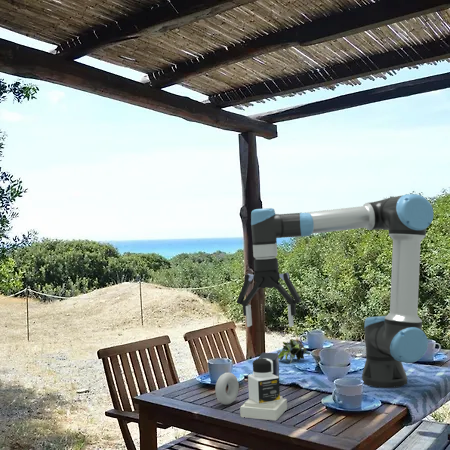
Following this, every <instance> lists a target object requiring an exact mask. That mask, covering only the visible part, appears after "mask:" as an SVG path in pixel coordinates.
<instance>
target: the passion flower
mask: <svg viewBox="0 0 450 450" xmlns="http://www.w3.org/2000/svg"><path fill="white" fill-rule="evenodd" d="M282 344H283V345H282V347H283V348H282V350H278V351H277V353H278V359H279V360H280V361H281V362H282V361H283V360H284V358H285V361H288V357H289V359H290V362H289V364H291V363H292V362H293V359H294V358H295V357H296V359H297V360H298V361H300V360H301V359H302V360H304V359H305V354H306V355H311V352H310V351H308V349H307V348H306V347H305V344H303V342H302V340H300V339H297V338H296V339H289V340H288V341H286V342H285V341H282Z"/></svg>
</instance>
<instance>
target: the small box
mask: <svg viewBox="0 0 450 450" xmlns="http://www.w3.org/2000/svg"><path fill="white" fill-rule="evenodd" d="M278 355H279V353H278V352H261V353H260V355H259V357H258V358H257V359H260V358H267V359H270V360H272V361H273V374H274V375H276V376H278V377H279V378H280V364H279V360H280V359H279V358H278Z"/></svg>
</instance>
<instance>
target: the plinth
mask: <svg viewBox="0 0 450 450" xmlns="http://www.w3.org/2000/svg"><path fill="white" fill-rule="evenodd" d="M239 408H240V409H239V411H240V413H239V414H240V418H244V417H245V418H246V419H256V420H267V421H278V419H279V418H280V417H281V416H283V414H284V413H285V411H287V410H288V399H287V398H283V395H280V400H279V401H274V402H269V403H264V404H258V403H257V402H255V401H253V400H251V399H250V398H248V399H247V400H246V401H245V402H244V403H243V404H242V405H241V406H240V407H239Z"/></svg>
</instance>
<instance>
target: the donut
mask: <svg viewBox="0 0 450 450" xmlns="http://www.w3.org/2000/svg"><path fill="white" fill-rule="evenodd" d="M227 386H228V388H227ZM239 389H240V385H239V381H238V377H237V376H236V375H235V374H234V373H232V372H224V373H222V374H220V376H219V377H218V379H217V380H216V383H215V391H214V392H215V396H216V399H217V401H218V402H219V403H220V404H222V405H225V406H227V405H231V404H232V403H234V402H235V400H236V399H237V396H238V393H239Z"/></svg>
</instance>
